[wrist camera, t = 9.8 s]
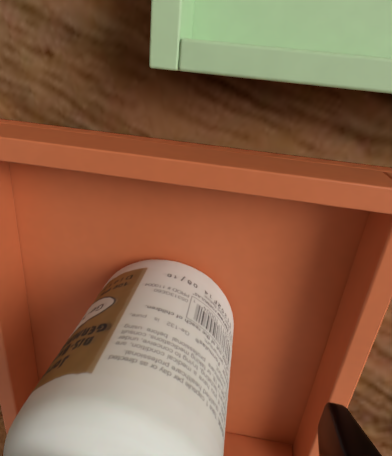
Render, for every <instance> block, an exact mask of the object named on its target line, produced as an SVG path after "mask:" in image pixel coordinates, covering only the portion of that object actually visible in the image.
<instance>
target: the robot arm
mask: <svg viewBox="0 0 392 456" xmlns="http://www.w3.org/2000/svg"><path fill="white" fill-rule="evenodd" d="M318 445H319V456H381V454H380V453H379V451H378V450H377V449H376V447H375V446H374V445H373V443H372V442H371V441H370V439H369V438H368V437H367V435H366V434H365V432H364V431H363V430H362V428H361V427H360V426H359V424H358V423H357V422H356V420H355V419H354V417H353V416H352V415H351V413H350V412H349V411H348V409H347V408H346V407H345V406H344V405H341V404H336V403H331V402H328V403H327V404H326V405H325V407H324V410H323V413H322V415H321V418H320V421H319V424H318Z"/></svg>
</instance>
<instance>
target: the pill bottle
mask: <svg viewBox="0 0 392 456" xmlns="http://www.w3.org/2000/svg"><path fill="white" fill-rule="evenodd" d="M233 330H234V321H233V314H232V310H231V307H230V304H229V302H228V300H227V298H226V296H225V295H224V293H223V292H222V290H221V289H220V288H219V286H218V285H217V284H216V283H215V282H214V281H213V280H212V279H211V278H209V277H208V276H207V275H205V274H204V273H202V272H201V271H199V270H197V269H195V268H193V267H191V266H189V265H186V264H183V263H180V262H176V261H170V260H158V259H151V260H144V261H139V262H136V263H133V264H130V265H128V266H126V267H124V268H122V269H120V270H119V271H117V272H116V273H115V274H114V275H113V276H112V277H111V278H110V279H109V280H108V282H107V283H106V284H105V286H104V287H103V289H102V290H101V292H100V293H99V294H98V296H97V298H96V299H95V301H94V302H93V303H92V305H91V306H90V307H89V309H88V311H87V312H86V314H85V315H84V317H83V318H82V320H81V321H80V323H79V324H78V326H77V327H76V329H75V330H74V332H73V333H72V334H71V336H70V337H69V338H68V340H67V342H66V343H65V345H64V346H63V347H62V349H61V350H60V352H59V354H58V355H57V357H56V358H55V359H54V360H53V362H52V363H51V365H50V367H49V368H48V370H47V371H46V373H45V374H44V375H43V377H42V378H41V380H40V381H39V383H38V384H37V386H36V387H35V388H34V390H33V391H32V393H31V394H30V396H29V397H28V399H27V400H26V402H25V403H24V405H23V406H22V408H21V409H20V411H19V413H18V414H17V416H16V418H15V419H14V421H13V423H12V425H11V427H10V429H9V431H8V434H7V437H6V440H5V445H4V454H3V456H223V454H224V439H225V427H226V415H227V403H228V391H229V378H230V367H231V355H232V343H233Z"/></svg>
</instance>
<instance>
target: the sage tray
mask: <svg viewBox="0 0 392 456" xmlns="http://www.w3.org/2000/svg"><path fill="white" fill-rule="evenodd" d="M149 66H150V68H154V69H163V70H173V71H182V72H192V73H201V74H211V75H220V76H229V77H239V78H248V79H258V80H267V81H276V82H286V83H295V84H305V85H314V86H324V87H333V88H342V89H352V90H361V91H371V92H380V93H389V94H392V0H151V25H150V56H149Z"/></svg>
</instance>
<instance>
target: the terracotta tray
mask: <svg viewBox="0 0 392 456" xmlns="http://www.w3.org/2000/svg"><path fill="white" fill-rule="evenodd" d="M151 259H158V260H170V261H176V262H180V263H183V264H186V265H189V266H191V267H193V268H195V269H197V270H199V271H201V272H202V273H204V274H205V275H207V276H208V277H209V278H211V279H212V280H213V281H214V282H215V283H216V284H217V285H218V286H219V288H220V289H221V290H222V292H223V293H224V295H225V296H226V298H227V300H228V302H229V304H230V307H231V310H232V314H233V321H234V330H233V343H232V355H231V367H230V378H229V391H228V403H227V415H226V427H225V439H224V454H223V456H319V445H318V424H319V421H320V418H321V415H322V413H323V410H324V407H325V405H326V404H327V403H328V402H331V403H336V404H341V405H344V406H345V407H346V408H348V405H349V403H350V400H351V398H352V395H353V393H354V390H355V388H356V385H357V383H358V380H359V378H360V375H361V373H362V370H363V368H364V366H365V363H366V361H367V358H368V356H369V353H370V351H371V348H372V346H373V343H374V341H375V338H376V336H377V333H378V331H379V328H380V326H381V323H382V321H383V318H384V316H385V313H386V311H387V308H388V306H389V303H390V301H391V298H392V168H389V167H381V166H373V165H365V164H357V163H349V162H341V161H333V160H325V159H317V158H309V157H301V156H293V155H285V154H277V153H269V152H261V151H253V150H245V149H237V148H229V147H221V146H213V145H205V144H197V143H189V142H181V141H173V140H165V139H157V138H149V137H141V136H133V135H125V134H117V133H109V132H101V131H94V130H86V129H78V128H70V127H62V126H54V125H46V124H38V123H30V122H22V121H14V120H6V119H0V405H1V410H2V415H3V420H4V425H5V429H6V434H8V431H9V429H10V427H11V425H12V423H13V421H14V419H15V418H16V416H17V414H18V413H19V411H20V409H21V408H22V406H23V405H24V403H25V402H26V400H27V399H28V397H29V396H30V394H31V393H32V391H33V390H34V388H35V387H36V386H37V384H38V383H39V381H40V380H41V378H42V377H43V375H44V374H45V373H46V371H47V370H48V368H49V367H50V365H51V363H52V362H53V360H54V359H55V358H56V357H57V355H58V354H59V352H60V350H61V349H62V347H63V346H64V345H65V343H66V342H67V340H68V338H69V337H70V336H71V334H72V333H73V332H74V330H75V329H76V327H77V326H78V324H79V323H80V321H81V320H82V318H83V317H84V315H85V314H86V312H87V311H88V309H89V307H90V306H91V305H92V303H93V302H94V301H95V299H96V298H97V296H98V294H99V293H100V292H101V290H102V289H103V287H104V286H105V284H106V283H107V282H108V280H109V279H110V278H111V277H112V276H113V275H114V274H115V273H116V272H117V271H119V270H120V269H122V268H124V267H126V266H128V265H130V264H133V263H136V262H139V261H144V260H151Z"/></svg>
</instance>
